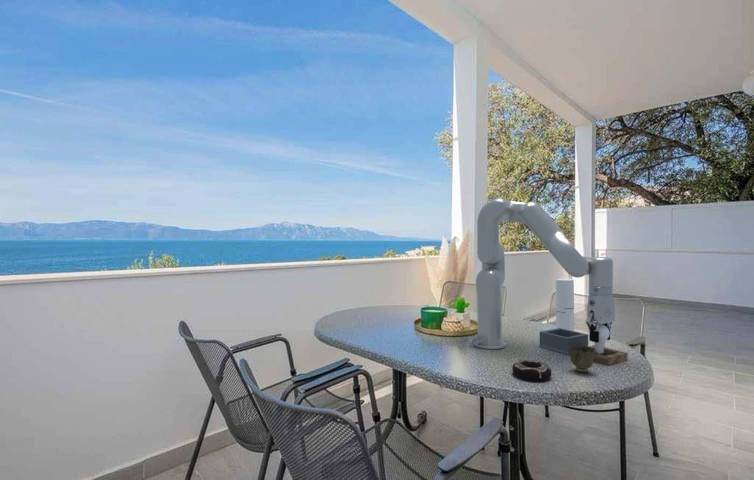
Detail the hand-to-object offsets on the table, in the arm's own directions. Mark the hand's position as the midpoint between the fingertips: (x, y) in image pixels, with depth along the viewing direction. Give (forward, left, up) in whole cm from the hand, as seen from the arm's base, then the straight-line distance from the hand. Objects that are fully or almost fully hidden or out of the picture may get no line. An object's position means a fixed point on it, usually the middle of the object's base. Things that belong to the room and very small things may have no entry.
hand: (599, 340), depth 142 cm
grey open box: (0, +15, -7) cm, 16 cm away
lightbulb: (0, 0, -5) cm, 5 cm away
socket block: (0, 0, -7) cm, 7 cm away
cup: (-19, -5, -7) cm, 21 cm away
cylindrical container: (+18, +27, -7) cm, 33 cm away
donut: (-36, +1, -7) cm, 36 cm away
